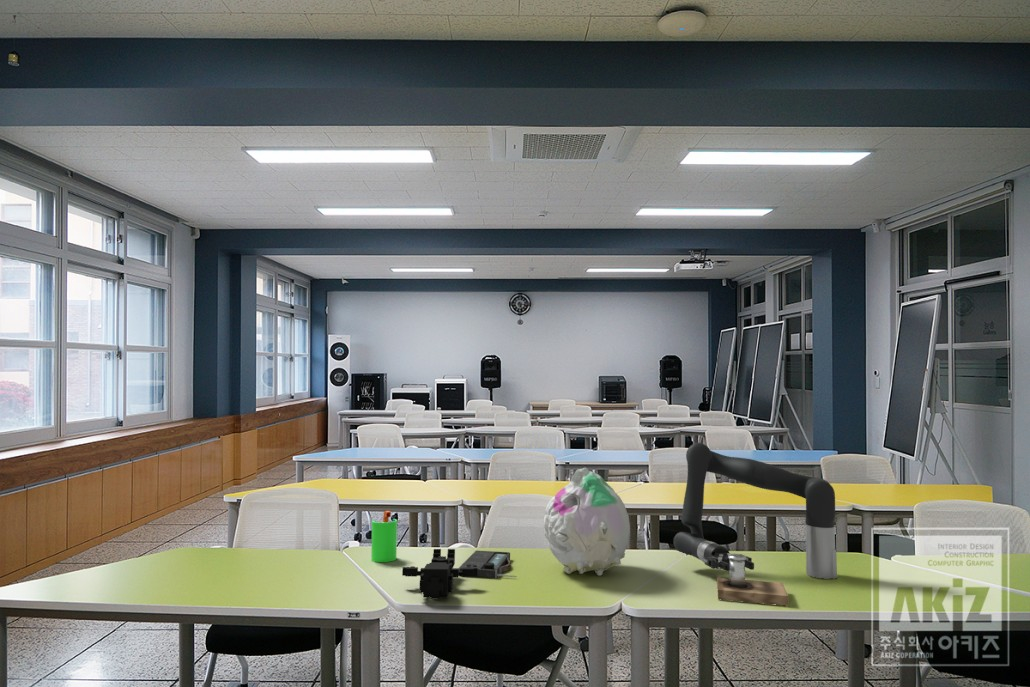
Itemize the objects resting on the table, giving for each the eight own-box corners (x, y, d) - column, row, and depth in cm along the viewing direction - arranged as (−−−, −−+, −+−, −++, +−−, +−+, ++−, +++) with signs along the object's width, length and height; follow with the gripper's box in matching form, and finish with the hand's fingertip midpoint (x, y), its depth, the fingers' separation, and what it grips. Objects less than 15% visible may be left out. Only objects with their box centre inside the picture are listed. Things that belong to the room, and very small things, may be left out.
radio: (476, 547, 250) (528, 550, 246) (475, 558, 250) (528, 561, 246) (458, 564, 225) (516, 568, 222) (458, 577, 225) (516, 581, 221)
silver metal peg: (746, 593, 209) (745, 554, 210) (747, 598, 204) (746, 558, 205) (728, 591, 211) (727, 553, 212) (728, 596, 206) (728, 557, 207)
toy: (479, 549, 226) (475, 566, 196) (479, 578, 225) (475, 599, 195) (409, 548, 226) (394, 565, 196) (408, 577, 224) (393, 599, 195)
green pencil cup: (389, 555, 251) (390, 507, 252) (401, 559, 245) (402, 510, 247) (368, 559, 245) (369, 510, 246) (379, 563, 239) (380, 513, 240)
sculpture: (546, 595, 220) (632, 577, 211) (517, 486, 226) (600, 465, 217) (572, 570, 251) (648, 554, 242) (546, 475, 257) (620, 456, 248)
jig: (783, 592, 210) (782, 582, 211) (788, 606, 197) (788, 596, 197) (717, 586, 216) (717, 577, 216) (718, 599, 202) (718, 589, 203)
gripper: (693, 544, 220) (720, 556, 205) (731, 542, 224) (760, 553, 208) (694, 567, 220) (720, 580, 204) (732, 564, 223) (761, 578, 208)
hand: (740, 567), depth 206 cm, fingers open, 8 cm apart
